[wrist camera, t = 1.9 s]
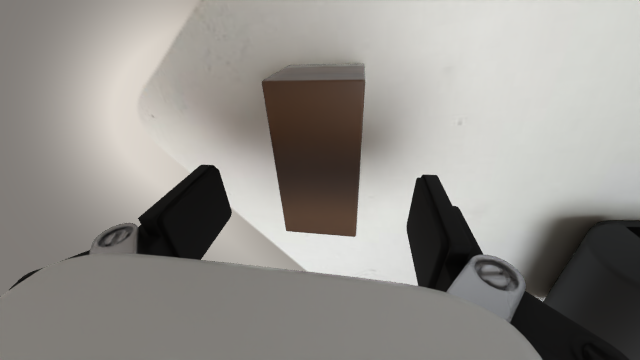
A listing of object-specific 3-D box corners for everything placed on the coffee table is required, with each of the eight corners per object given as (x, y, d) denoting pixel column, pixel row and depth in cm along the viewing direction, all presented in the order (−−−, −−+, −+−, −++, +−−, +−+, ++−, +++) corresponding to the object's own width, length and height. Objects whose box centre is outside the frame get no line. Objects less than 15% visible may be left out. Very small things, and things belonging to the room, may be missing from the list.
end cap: (556, 214, 17) (653, 312, 11) (687, 214, 15) (875, 326, 10) (513, 296, 22) (564, 390, 16) (607, 302, 20) (698, 407, 15)
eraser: (288, 65, 14) (260, 80, 10) (364, 63, 13) (365, 79, 10) (301, 190, 19) (285, 231, 15) (357, 193, 18) (355, 237, 14)
